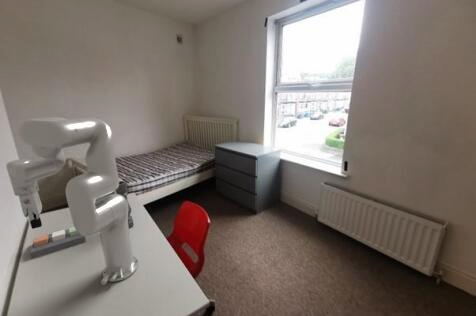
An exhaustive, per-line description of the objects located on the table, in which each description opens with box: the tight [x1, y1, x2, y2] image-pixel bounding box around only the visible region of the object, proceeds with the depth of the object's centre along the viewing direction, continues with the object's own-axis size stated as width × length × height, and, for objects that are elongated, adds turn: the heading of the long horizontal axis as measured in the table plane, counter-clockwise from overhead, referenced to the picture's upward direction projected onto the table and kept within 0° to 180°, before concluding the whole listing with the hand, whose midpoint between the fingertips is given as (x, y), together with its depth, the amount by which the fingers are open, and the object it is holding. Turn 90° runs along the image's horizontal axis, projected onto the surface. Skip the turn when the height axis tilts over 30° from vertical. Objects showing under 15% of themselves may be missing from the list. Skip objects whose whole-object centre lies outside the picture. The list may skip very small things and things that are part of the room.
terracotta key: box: [33, 233, 49, 247], centre depth 97 cm, size 4×4×4 cm
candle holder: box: [114, 180, 135, 230], centre depth 111 cm, size 6×6×25 cm
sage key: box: [68, 226, 79, 237], centre depth 104 cm, size 4×4×4 cm
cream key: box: [51, 229, 66, 242], centre depth 100 cm, size 4×4×4 cm
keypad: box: [29, 228, 87, 260], centre depth 101 cm, size 19×12×3 cm, turn 127°
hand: (37, 226), depth 95 cm, fingers closed
